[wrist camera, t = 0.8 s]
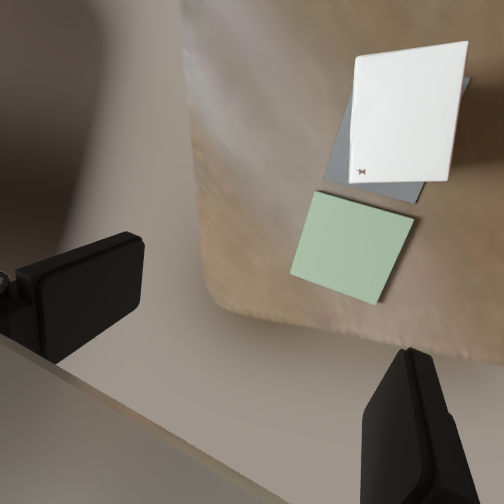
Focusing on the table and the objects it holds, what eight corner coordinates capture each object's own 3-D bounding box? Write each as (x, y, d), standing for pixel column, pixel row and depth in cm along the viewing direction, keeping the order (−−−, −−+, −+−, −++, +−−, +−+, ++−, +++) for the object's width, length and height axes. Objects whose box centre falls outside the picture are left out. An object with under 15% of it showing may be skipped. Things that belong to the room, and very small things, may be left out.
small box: (418, 173, 30) (449, 184, 19) (353, 175, 33) (346, 185, 21) (428, 86, 28) (472, 36, 16) (358, 94, 30) (352, 55, 19)
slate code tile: (360, 60, 29) (360, 60, 29) (470, 78, 27) (470, 77, 27) (323, 179, 34) (323, 179, 34) (414, 203, 31) (414, 203, 31)
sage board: (315, 190, 35) (314, 191, 34) (413, 218, 32) (414, 219, 31) (291, 271, 39) (289, 273, 38) (375, 302, 36) (375, 305, 35)
